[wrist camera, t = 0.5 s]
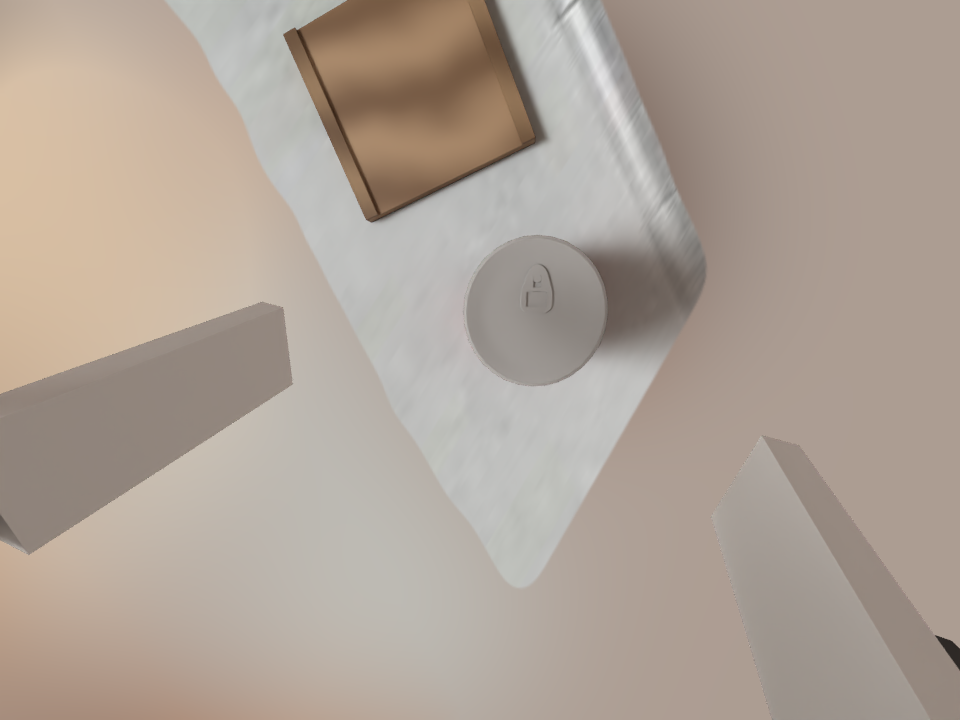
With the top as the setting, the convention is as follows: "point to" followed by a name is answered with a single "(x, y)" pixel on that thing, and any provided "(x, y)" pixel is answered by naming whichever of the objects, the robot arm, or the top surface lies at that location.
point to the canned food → (535, 310)
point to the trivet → (410, 95)
